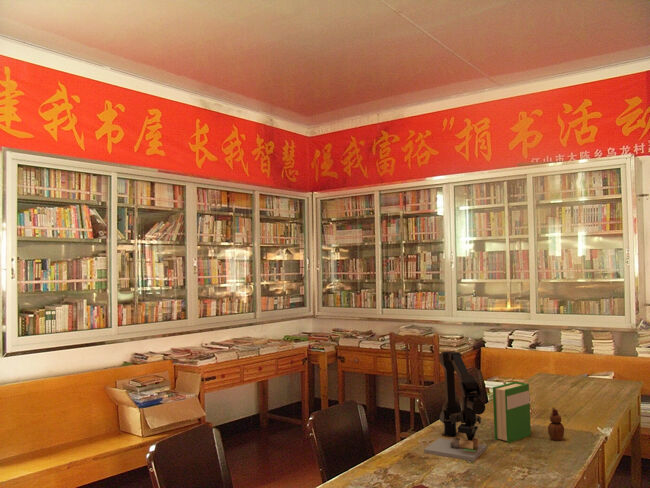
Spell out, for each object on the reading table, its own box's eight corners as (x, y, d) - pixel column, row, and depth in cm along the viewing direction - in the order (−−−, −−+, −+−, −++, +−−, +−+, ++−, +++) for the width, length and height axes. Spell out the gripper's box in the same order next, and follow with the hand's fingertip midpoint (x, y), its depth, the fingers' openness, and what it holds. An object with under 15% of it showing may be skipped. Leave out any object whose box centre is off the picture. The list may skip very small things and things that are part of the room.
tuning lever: (449, 446, 243) (449, 437, 244) (451, 443, 247) (451, 434, 247) (477, 450, 238) (476, 440, 238) (479, 447, 242) (478, 437, 242)
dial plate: (439, 441, 258) (439, 437, 258) (486, 448, 246) (486, 444, 246) (424, 452, 243) (424, 449, 243) (474, 461, 231) (474, 457, 231)
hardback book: (508, 443, 252) (506, 389, 253) (494, 439, 258) (492, 387, 259) (530, 435, 263) (528, 383, 264) (517, 431, 269) (515, 381, 270)
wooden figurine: (554, 442, 252) (552, 408, 253) (546, 438, 258) (544, 405, 258) (567, 440, 254) (565, 407, 255) (558, 436, 260) (557, 404, 260)
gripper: (456, 400, 256) (457, 434, 256) (445, 411, 239) (446, 448, 239) (481, 403, 251) (482, 438, 251) (471, 414, 234) (472, 451, 234)
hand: (470, 443), depth 244 cm, fingers closed
